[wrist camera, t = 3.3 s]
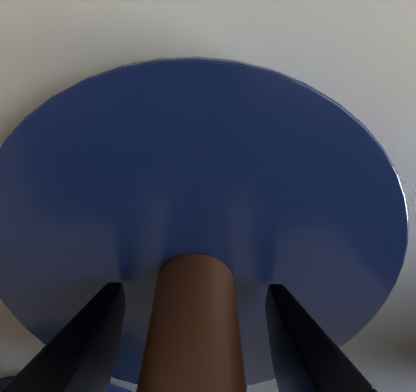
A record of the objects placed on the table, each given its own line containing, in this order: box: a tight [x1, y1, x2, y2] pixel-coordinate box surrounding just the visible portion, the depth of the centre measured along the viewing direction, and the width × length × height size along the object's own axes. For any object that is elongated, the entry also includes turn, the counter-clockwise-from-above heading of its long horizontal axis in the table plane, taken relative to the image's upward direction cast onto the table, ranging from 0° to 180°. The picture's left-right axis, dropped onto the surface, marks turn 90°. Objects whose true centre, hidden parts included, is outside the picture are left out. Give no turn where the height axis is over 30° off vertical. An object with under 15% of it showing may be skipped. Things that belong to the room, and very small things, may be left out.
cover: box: [0, 57, 409, 392], centre depth 8 cm, size 13×13×6 cm
